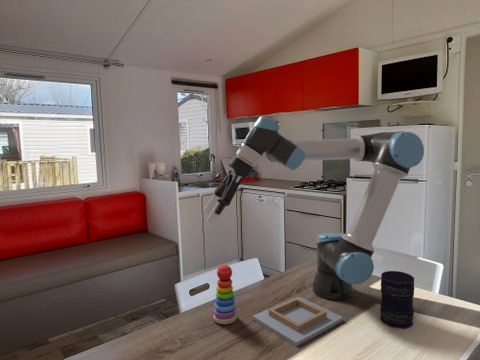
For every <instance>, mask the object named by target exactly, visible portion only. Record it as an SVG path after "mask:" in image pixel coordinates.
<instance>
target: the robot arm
mask: <svg viewBox="0 0 480 360" xmlns="http://www.w3.org/2000/svg"><path fill="white" fill-rule="evenodd" d="M279 130H280V125H279V124H278V123H277V122H276V121H275V120H273V119H272V118H271V117H267V116H265V115H262V116H259V117H258V119H257V120H256V122H255V123H254V124H253V125H252V126H251V129H250V130H249V132H248V133H247V135H246V137H245V138H244V139H243V141H242V143H241V145H238V146H237V148H238V149H237V151H236V152H235V156H233V157H232V158H231V159H230V161H229V163H228V166H229V167H230V168H232V170H229V171H228V173H227V174H226V176H225V177H223V179H222V181H221V182H220V183H219V185H218V186H217V187H216V188H215V189H214V193H213V195H212V196H211V198H210V200H209V202H208V203H207V204H206V206H205V208H204V209H203V211H204V212H206V213H207V214H209V215H208V217H207V219H206V221H207V222H209V223H210V224H212V225H215V224H216V223H217V222H218V220H219V219H220V217H221V215H222V214H223V213H224V211H225V209H226V207H229V206H230V205H231V202H232V200H233V198H234V196H235V195H236V193H237V191H238V189H239V186H240V185H241V183H242V182H243V180H244V178H243V177H242V176H244V177H245V178H249V177H250V176H251V173H252V172H253V170H254V167H256V166H257V165H258V163H259V161H260V160H261V158H262V156H263V154H264V156H265V158H266V159H267V160H269V161H270V162H271V163H272V162H274V163H279V164H281V165H283V166H284V167H285V168H287V169H289V170H291V171H295V170H297V169H299V167H300V166H301V165H302V163H303V162H304V161H305V162H306V161H326V160H327V161H328V160H330V161H332V160H355V162H370V163H372V166H373V169H374V171H373V173H372V176H371V178H370V181H369V183H368V185H367V188H366V190H365V192H364V194H363V197H362V199H361V202H360V204H359V206H358V208H357V210H356V213H355V216H354V217H353V220H352V222H351V225H350V226H349V230H348V231H347V233H345V232H323V233H320V234H318V235H317V237H316V262H317V263H316V268H317V269H316V273H315V277H314V279H313V283H312V292H313V294H315V295H316V296H318V297H320V298H322V299H326V300H332V301H333V300H335V301H341V300H346V299H349V298H351V297H352V296H353V293H354V287H353V285H360V284H361V283H364V282H366V281H367V280H369V279H370V277H371V276H372V275H373V273H374V269H375V267H374V265H375V264H374V261H373V259H372V257H373V255H374V252H375V247H374V246H373V243H374V240H375V238H376V236H377V233H378V232H379V229H380V227H381V224H382V222H383V220H384V217H385V215H386V212H387V210H388V208H389V206H390V203H391V202H392V199H393V197H394V194H395V192H396V190H397V187H398V185H399V183H400V181H401V179H404V178H406V177H407V176H408V175H409V172H410V170H411V169H412V168H414V167H416V166H418V165H419V164H421V162H422V160H423V158H424V155H425V148H424V147H425V146H424V144H423V142H422V139H421V138H420V136H419V135H417V134H416V133H414V132H411V131H404V130H400V131H383V132H378V133H371V134H365V135H356V136H354V138H331V139H329V138H327V139H323V138H322V139H292V140H291V139H290V140H289V139H287V138H286V137H284V136H283V135H282V134H280V133H279Z"/></svg>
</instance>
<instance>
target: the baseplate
mask: <svg viewBox="0 0 480 360" xmlns="http://www.w3.org/2000/svg"><path fill="white" fill-rule="evenodd" d="M252 320H254V321H255V322H257V323H258V324H259V325H260V326H263V327H265V328H266V329H267V330H269V331H271V332H272V333H273V334H276V335H278V337H280V338H282V339H284V340H286V342H289V343H291V345H292V346H293V345H294V346H295V347H298V346H300V345H302V344H304V343H306V342H307V341H309V340H311V339H313V338H314V337H316V336H318V335H320V334H322V333H324V332H325V331H327V330H329V329H331V328H333V327H334V326H336V325H338V324H340V323H342V322H343V321H344V317H343V316H342V315H339V314H337V313H335V312H333V311H331V310H328V309H326V308H325V307H322V306H320V305H318V304H316V303H313V302H312V301H309V300H306V298H303V297H300V296H296V297H293V298H290V299H289V300H287V301H284V302H282V303H280V304H279V303H278V304H277V305H275V306H272V307H270V308H268V309H265V310H263V311H261V312H259V313H256V314H253V315H252Z"/></svg>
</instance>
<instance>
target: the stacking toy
mask: <svg viewBox="0 0 480 360" xmlns="http://www.w3.org/2000/svg"><path fill="white" fill-rule="evenodd" d="M216 275H217V278H218V279H217V281H216V283H217V286H216V287H215V289H216V292H215V301H214V302H215V303H214V308H213V316H212V318H213V320H214V322H215V323H217V324H220V325H230V324H232V323H234V322H235V321H237V319H238V314H237V309H236V302H235V297H234V296H235V295H234V294H235V293H234V290H233V289H234V287H233V279H232V275H233V269H232V268H231V267H230V266H229V265H228V264H222V265H220V266H219V267H217V270H216Z"/></svg>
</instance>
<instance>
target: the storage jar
mask: <svg viewBox="0 0 480 360" xmlns="http://www.w3.org/2000/svg"><path fill="white" fill-rule="evenodd" d="M380 277H381V278H380V292H381V300H380V308H379V309H380V311H379V312H380V317H379V318H380V321H381V322H382V323H383V324H384V325H385V326H387V327H390V328H394V329H399V330H406V329H410V328H412V327H413V324H414V321H413V320H414V306H413V303H414V300H413V299H414V296H415V277H414V276H413V275H412V274H410V273H407V272H403V271H398V270H397V271H396V270H387V271H384V272H382V273H381V276H380Z"/></svg>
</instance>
